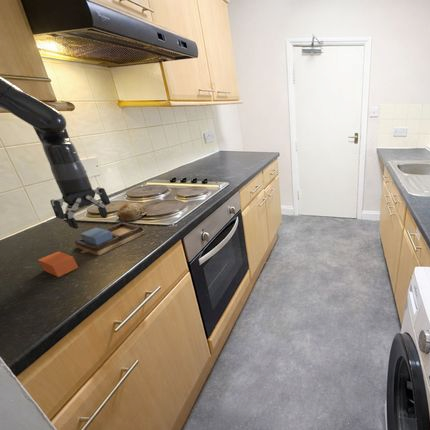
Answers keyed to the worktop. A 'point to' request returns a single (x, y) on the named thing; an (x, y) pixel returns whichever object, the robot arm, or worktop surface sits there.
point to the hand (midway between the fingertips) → (90, 222)
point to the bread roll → (131, 211)
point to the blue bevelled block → (96, 236)
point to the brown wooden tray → (120, 236)
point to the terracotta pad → (58, 263)
